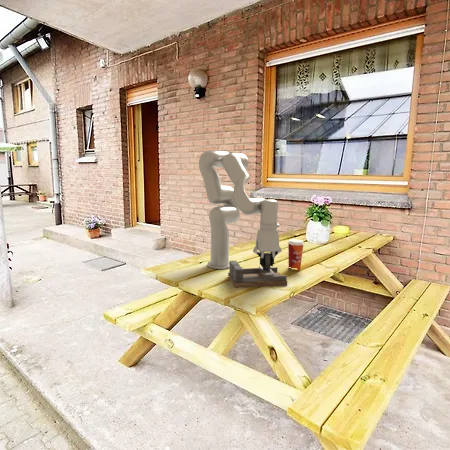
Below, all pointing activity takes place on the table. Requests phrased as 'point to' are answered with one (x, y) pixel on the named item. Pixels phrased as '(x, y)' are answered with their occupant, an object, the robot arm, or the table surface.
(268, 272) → the press carriage
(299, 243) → the coffee cup
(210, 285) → the table surface
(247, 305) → the table surface
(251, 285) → the base
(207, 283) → the table surface
